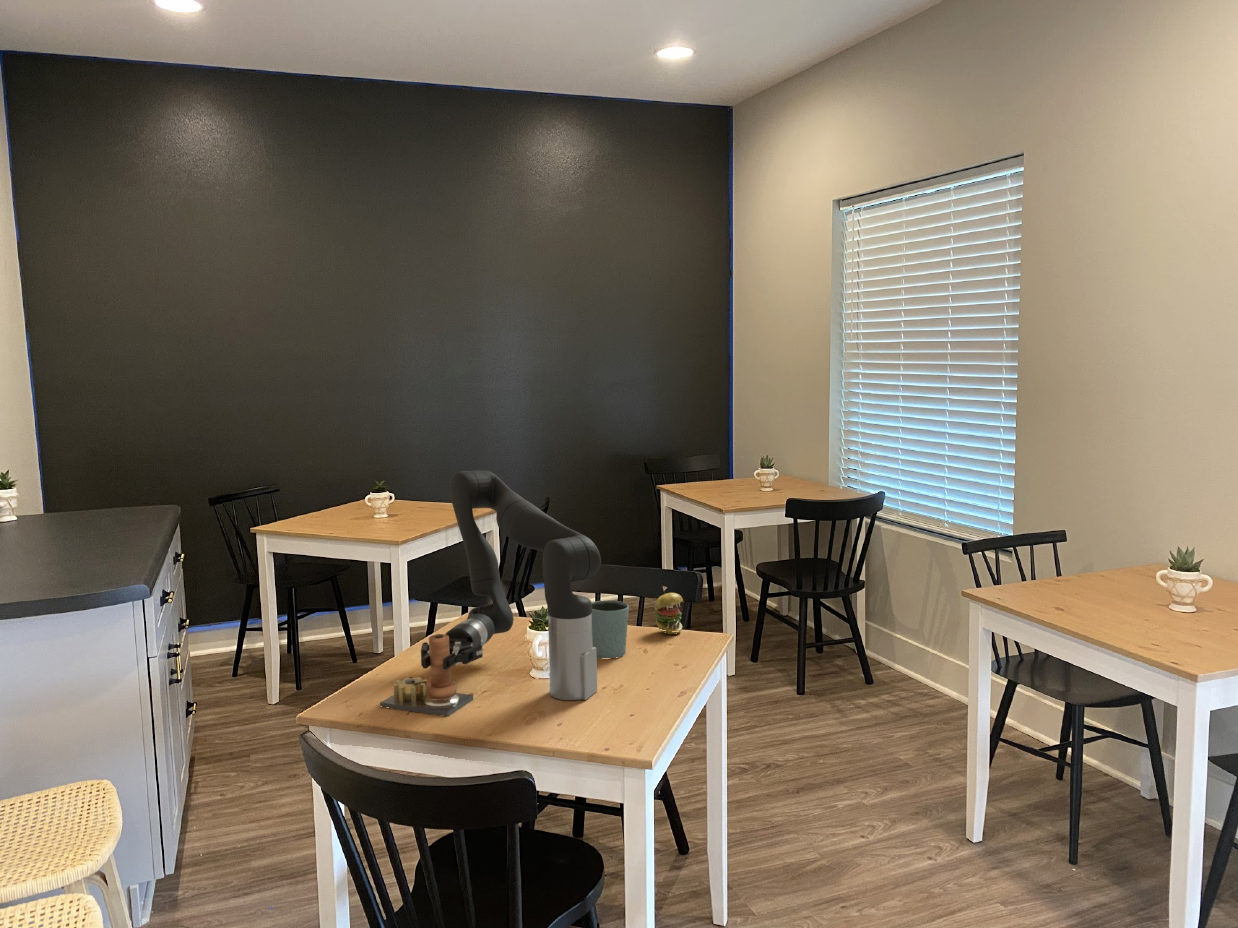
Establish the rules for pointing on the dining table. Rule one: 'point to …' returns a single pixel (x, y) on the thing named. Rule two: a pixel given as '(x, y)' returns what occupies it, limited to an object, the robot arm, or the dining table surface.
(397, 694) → the sun gear
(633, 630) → the dining table surface
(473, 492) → the robot arm
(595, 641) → the teal cup
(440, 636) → the brown round post
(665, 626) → the hamburger
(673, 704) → the dining table surface
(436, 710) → the carrier plate
